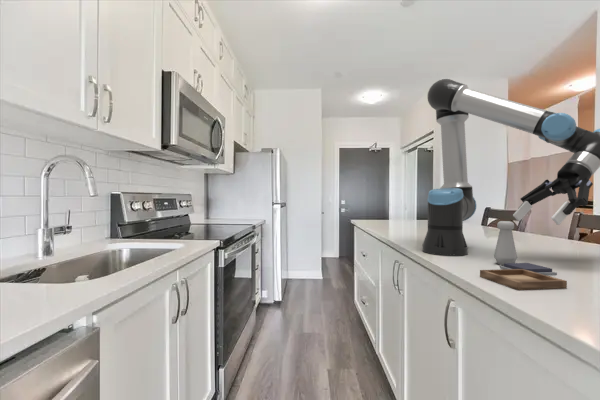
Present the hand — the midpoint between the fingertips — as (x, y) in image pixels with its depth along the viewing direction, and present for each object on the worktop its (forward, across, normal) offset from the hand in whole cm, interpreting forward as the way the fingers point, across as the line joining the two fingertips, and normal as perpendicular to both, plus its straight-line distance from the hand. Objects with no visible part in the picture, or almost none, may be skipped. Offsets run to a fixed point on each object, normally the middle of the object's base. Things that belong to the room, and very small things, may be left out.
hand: (534, 219), depth 97 cm
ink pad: (+16, -8, -2) cm, 19 cm away
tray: (+24, -18, +6) cm, 31 cm away
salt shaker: (+16, +1, -3) cm, 16 cm away
